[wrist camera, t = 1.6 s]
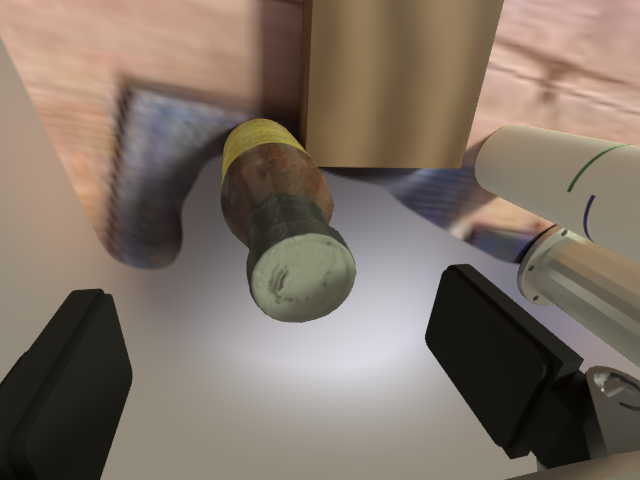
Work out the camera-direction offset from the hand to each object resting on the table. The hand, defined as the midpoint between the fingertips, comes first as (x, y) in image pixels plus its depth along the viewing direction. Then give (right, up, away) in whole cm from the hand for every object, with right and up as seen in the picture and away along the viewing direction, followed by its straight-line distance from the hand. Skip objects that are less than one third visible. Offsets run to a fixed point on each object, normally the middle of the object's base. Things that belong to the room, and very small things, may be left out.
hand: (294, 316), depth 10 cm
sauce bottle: (-4, +10, +20) cm, 22 cm away
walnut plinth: (+6, +16, +19) cm, 25 cm away
